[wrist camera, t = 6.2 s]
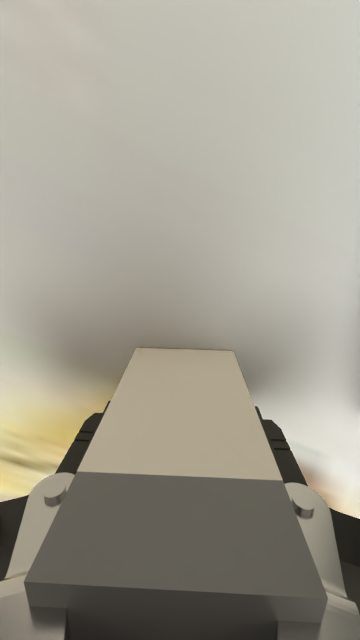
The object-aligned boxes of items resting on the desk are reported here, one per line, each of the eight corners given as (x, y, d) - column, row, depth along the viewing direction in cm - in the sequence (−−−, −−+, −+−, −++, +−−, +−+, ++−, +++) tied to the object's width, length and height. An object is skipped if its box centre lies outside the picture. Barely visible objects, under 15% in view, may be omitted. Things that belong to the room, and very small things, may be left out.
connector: (136, 347, 13) (23, 582, 4) (233, 350, 13) (327, 598, 4) (138, 428, 14) (57, 734, 5) (226, 431, 14) (286, 750, 5)
